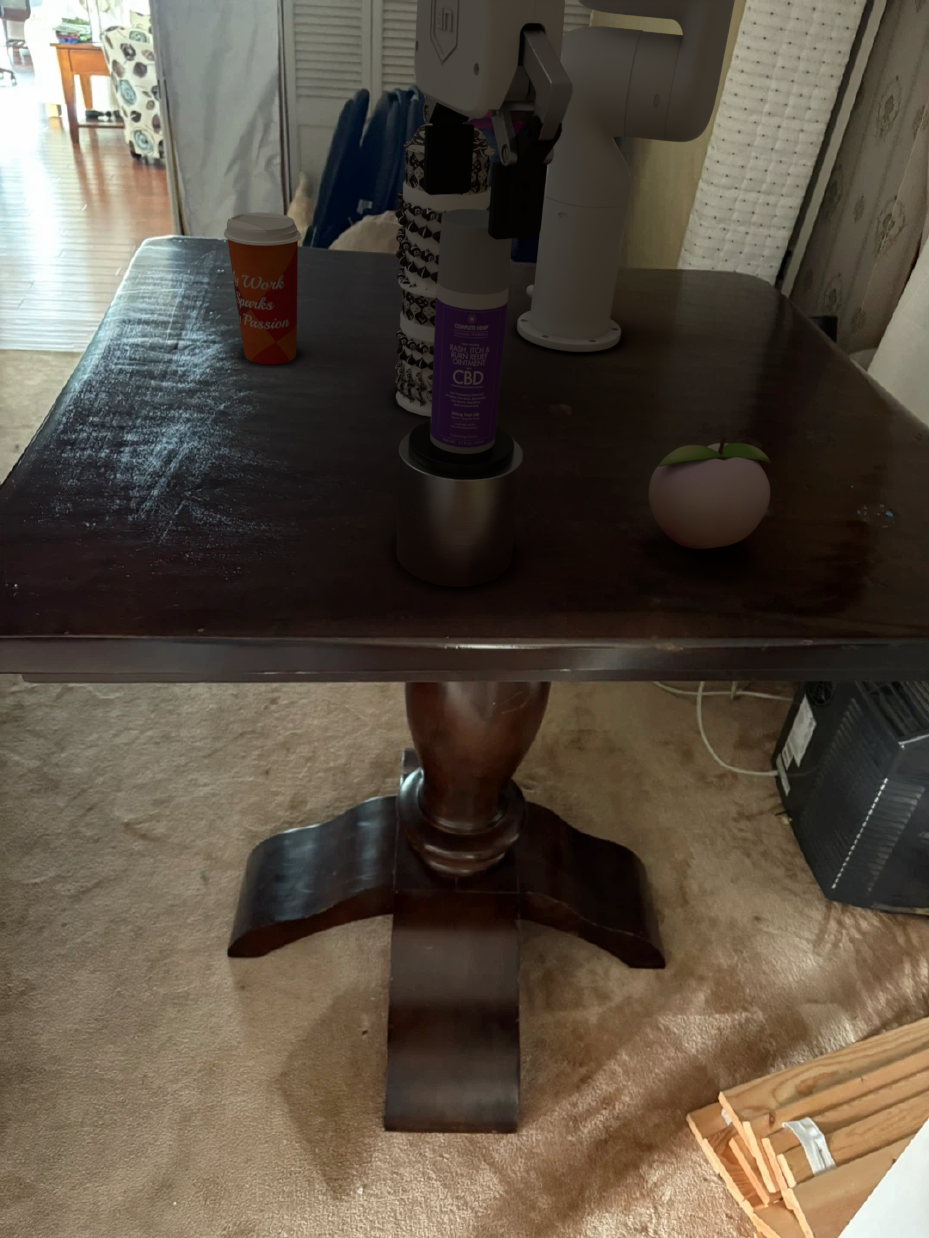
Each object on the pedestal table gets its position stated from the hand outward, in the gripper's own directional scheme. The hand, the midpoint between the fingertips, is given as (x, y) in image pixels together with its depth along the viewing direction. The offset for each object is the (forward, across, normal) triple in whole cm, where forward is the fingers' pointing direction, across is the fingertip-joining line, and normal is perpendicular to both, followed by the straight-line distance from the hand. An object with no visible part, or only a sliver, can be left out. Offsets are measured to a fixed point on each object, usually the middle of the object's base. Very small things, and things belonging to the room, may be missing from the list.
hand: (478, 213), depth 57 cm
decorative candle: (+26, -26, +9) cm, 38 cm away
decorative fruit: (+25, +7, +18) cm, 32 cm away
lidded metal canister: (+25, +1, -1) cm, 25 cm away
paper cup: (+26, -42, -4) cm, 50 cm away
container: (+15, 0, 0) cm, 15 cm away
